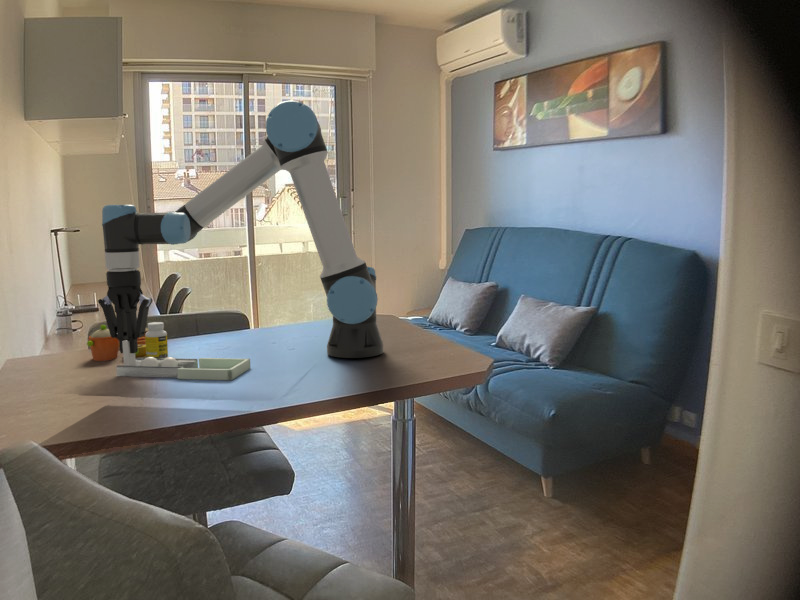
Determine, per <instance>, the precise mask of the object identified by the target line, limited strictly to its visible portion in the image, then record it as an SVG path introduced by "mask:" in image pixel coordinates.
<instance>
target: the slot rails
mask: <svg viewBox="0 0 800 600" xmlns="http://www.w3.org/2000/svg"><path fill="white" fill-rule="evenodd" d="M144 359H145V358H136V365H135V366H126V365H124V364H123V365H118V364H117V365H116V377H129V378H130V377H136V378H137V377H138V378H140V377H141V378H142V377H143V378H177V379H178V375H177V369H178V368H192V369H197V368H199V359H198V358H175V359H176V360H177V362H178V367H177V366H161V363H162V361H163V360H164V359H165V358H156V359H157V360H158V363H159V366H142V362H143V360H144Z"/></svg>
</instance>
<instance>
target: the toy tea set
mask: <svg viewBox="0 0 800 600" xmlns="http://www.w3.org/2000/svg"><path fill="white" fill-rule="evenodd" d="M106 325H107V324H106ZM106 325H105V324H101V325H100V329H97V330H95V331H94V332H93V333H92V334H91V335H89V336H88V341H87V342H86V345H87V347H90V351H91V355H92V360H93V361H97V362H104V361H105V362H106V361H111V360H115V359H117V358H118V354H119V353H118V352H119V351H120V344H119V340H118V339H117V338H112V337H111V335H110V331H109V328H108V326H106ZM148 331H149V329H148V327H146V329H145V334H146V332H148ZM137 345H138V351H137V352H136V353H135V359H136V358H146V340H145V335H144V336H142V337H140V338H138V339H137Z"/></svg>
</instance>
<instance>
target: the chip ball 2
mask: <svg viewBox="0 0 800 600" xmlns="http://www.w3.org/2000/svg"><path fill="white" fill-rule="evenodd" d="M161 366H177V367H178V362H177V360H176V359H175V358H174V357H173V356H168V357H167V358H165V359H164V360H163V361H162V363H161Z"/></svg>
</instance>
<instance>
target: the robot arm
mask: <svg viewBox="0 0 800 600" xmlns="http://www.w3.org/2000/svg"><path fill="white" fill-rule="evenodd" d="M265 131H266V135H267V136H265V137H264V138H263V139H262V144H261V145H260V146H259V147H258V148H257V149H255V150H254V151H253V152H251V153H250V154H249V155H248V156H246V157H245V158H244V159H242V160H241V161H239V162H238V163H237V164H236V165H235V166H233V167H232V168H230V169H228V171H226V172H225V173H223V175H222V176H220V177H219V178H217V179H216V180H215V181H213V182H212V183H211V184H209V185H208V186H207V187H205V188H204V189H203V190H201V191H199V193H198V194H196V195H195V196H194V197H192V198H190V200H189V201H187V202H186V203H184V205H182V206H180V207H179V208H178V209H177V210H175V211H169V212H168V211H167V212H144V213H143V212H138V211H137V207H136V206H135V205H134V204H106V205H104V206H103V208H102V210H101V211H102V212H101V213H102V214H101V215H102V216H101V217H102V218H101V219H102V220H101V221H102V223H101V226H102V234H103V244H104V263H105V269H106V270H108V271H107V272H105V275H106V285H107V292H106V296H104V297H103V298H99V299H98V300H97V303H98V304H99V306H100V308H101V309H102V312H103V315H104V319H105V321H106V325H107V329H109V331H110V335H111V337H112V338H117V339H118V340H119V344H120V350H119V352H120V354H122V359H123V365H126V366H135V365H136V359H135V353H136V352H137V351H138V345H137V339H138V338H140V337H142V336H144V335H145V329H146V328H147V324H148V323H147V322H148V315H149V312H150V311H149V310H150V307H151V305H152V303H153V300H154V299H153V298H152V297H147V296H146V295H144V292H143V291H142V288H141V286H142V279H141V278H142V277H141V275H142V274H141V271H140V267H141V266H140V265H141V264H140V263H141V262H140V253H139V252H140V249H139V245H142V246H143V245H180V244H181V245H182V244H183V245H184V244H187V243H188V242H190V241H191V240H194V238H196V236H197V235H198V233H199V232H201V231H202V230H203V229H204V228H205V227H207V226H208V225H210V224H211V223H212V222H213V221H215V220H216V219H217V218H219V217H221V215H222V214H224V213H225V212H226V211H228V210H229V209H231V208H232V207H233V206H235V205H236V204H237V203H239V202H240V201H241V200H242V199H244V198H245V197H246V196H248V195H249V194H250V193H251V192H253V191H255V190H256V189H257V188H259V187H260V186H261V185H262V184H264V183H265V182H267V181H268V180H269V179H270V178H272V177H273V176H275V175H276V174H278V172H280V171H282V170H283V171H286V172H288V173H290V178H291V180H292V183H293V185H294V188H295V190H296V194H297V197H298V199H299V202H300V205H301V208H302V211H303V214H304V216H305V220H306V222H307V226H308V229H309V231H310V234H311V237H312V239H313V242H314V244H315V247H316V251H317V254H318V256H319V259H320V263H321V265H322V272H321V273H320V275H319V278H320V281H321V284H322V287H323V289H324V292H325V295H326V303H327V309H328V310H329V312H330V314H332V328H331V330H330V334H329V337H328V340H327V344H326V354H327V355H328V356H331V357H336V358H343V359H344V358H346V359H361V358H370V357H375V356H379V355H381V354H383V353H384V343H383V338H382V336H381V333H380V330H379V327H378V324H377V306H378V299H379V298H378V293H377V284H376V283H377V282H376V281H377V275H376V274H377V273H376V269H375V268H374V267H372V266H367V263H366V261H365V260H364V259H361V258H360V257H358V256H357V253H356V250H355V246H354V244H353V242H352V239H351V235H350V233H349V231H348V226H347V223H346V221H345V218H344V215H343V212H342V210H341V206H340V203H339V201H338V197H337V195H336V192H335V189H334V186H333V183H332V180H331V177H330V174H329V172H328V169H327V165H326V162H325V160H326V158H327V155H328V153H329V152H328V148H327V146H326V143H325V140H324V138H323V133H322V129H321V126H320V123H319V121H318V119H317V116H316V114H315V112H314V111H313V109H312V108H310V107H309V106H308V105H306V104H305V103H303V102H300V101H298V100H286V101H285V100H284V101H281V102H279V103H278V104H276V105H275V106H274V107H272V109H271V110H270V112H269V113H268V115H267V117H266V122H265ZM138 304H139V307H138ZM137 311H138V313H137Z"/></svg>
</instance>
